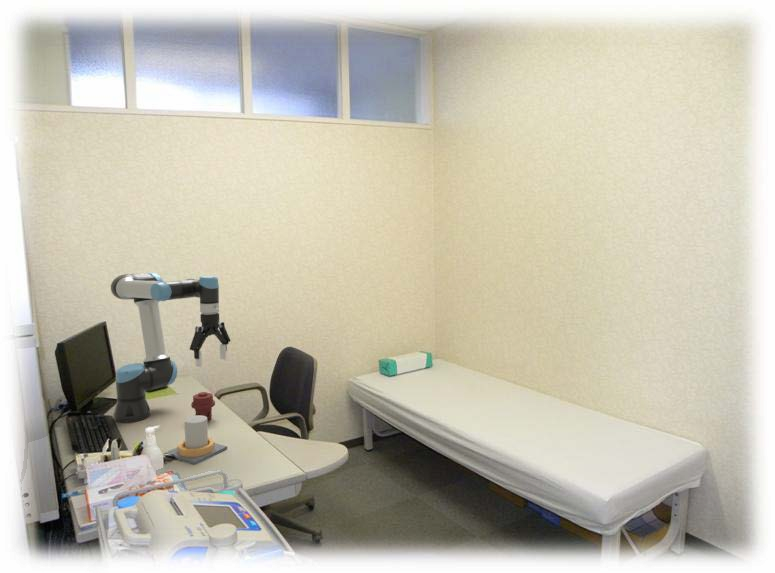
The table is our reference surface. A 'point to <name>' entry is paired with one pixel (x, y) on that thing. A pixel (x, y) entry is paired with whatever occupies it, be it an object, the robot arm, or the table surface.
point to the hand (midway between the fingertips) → (211, 362)
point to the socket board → (200, 458)
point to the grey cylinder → (196, 432)
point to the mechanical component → (203, 404)
